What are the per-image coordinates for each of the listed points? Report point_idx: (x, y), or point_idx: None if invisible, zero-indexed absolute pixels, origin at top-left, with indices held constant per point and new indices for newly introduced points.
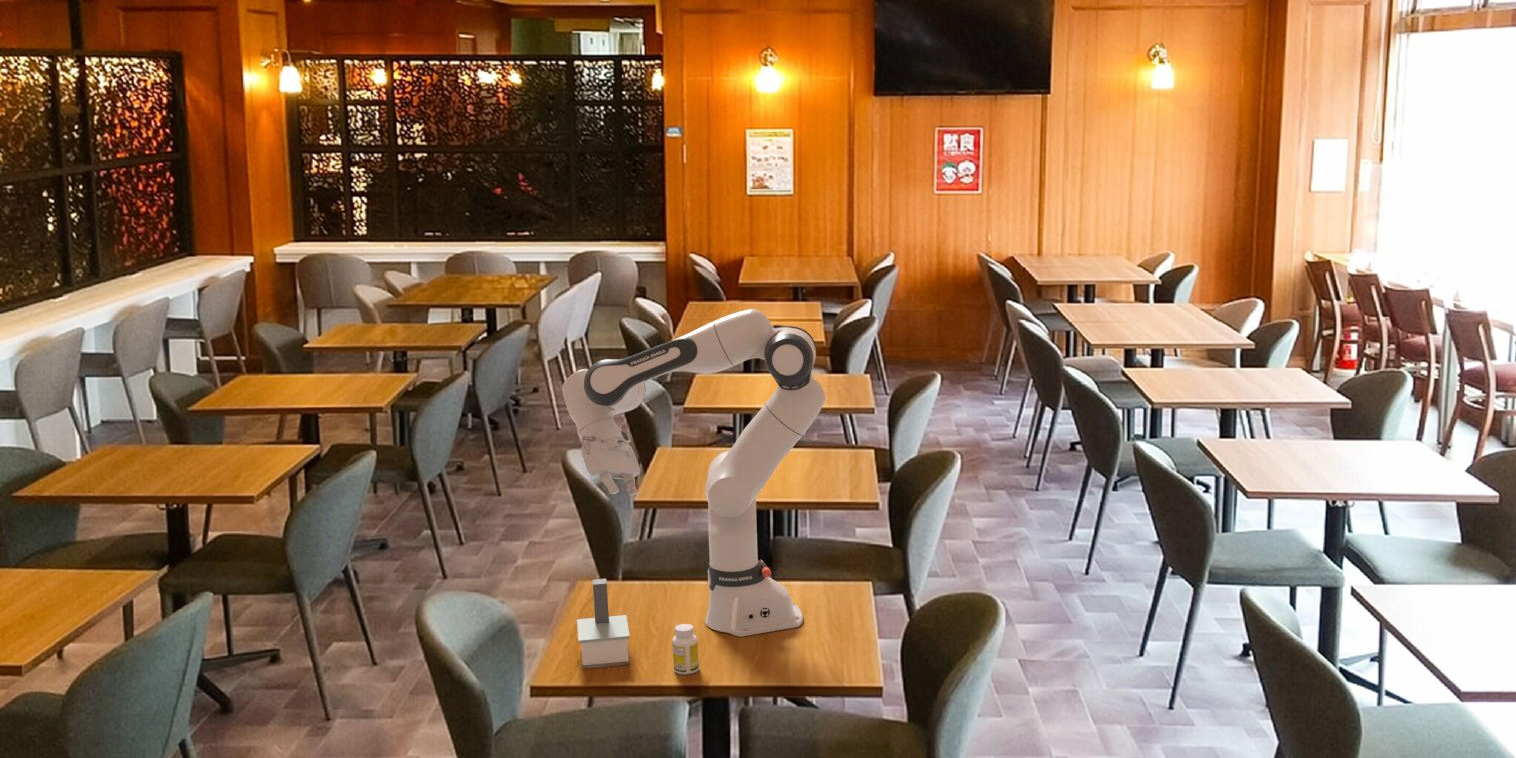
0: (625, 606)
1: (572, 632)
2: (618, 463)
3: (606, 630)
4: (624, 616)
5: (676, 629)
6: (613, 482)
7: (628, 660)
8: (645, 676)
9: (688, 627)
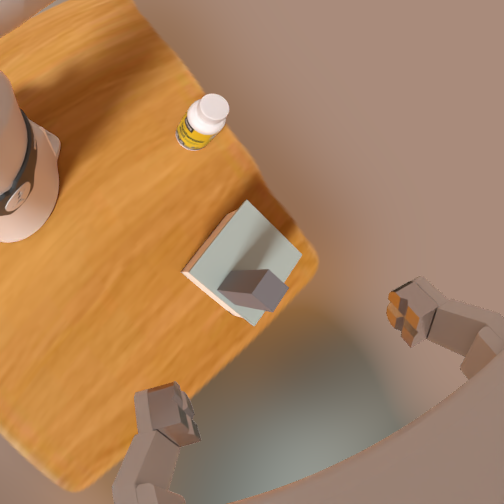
0: (80, 393)
1: (203, 373)
2: (425, 498)
3: (254, 247)
4: (196, 269)
5: (228, 111)
6: (453, 306)
7: (229, 213)
8: (238, 169)
9: (211, 100)
